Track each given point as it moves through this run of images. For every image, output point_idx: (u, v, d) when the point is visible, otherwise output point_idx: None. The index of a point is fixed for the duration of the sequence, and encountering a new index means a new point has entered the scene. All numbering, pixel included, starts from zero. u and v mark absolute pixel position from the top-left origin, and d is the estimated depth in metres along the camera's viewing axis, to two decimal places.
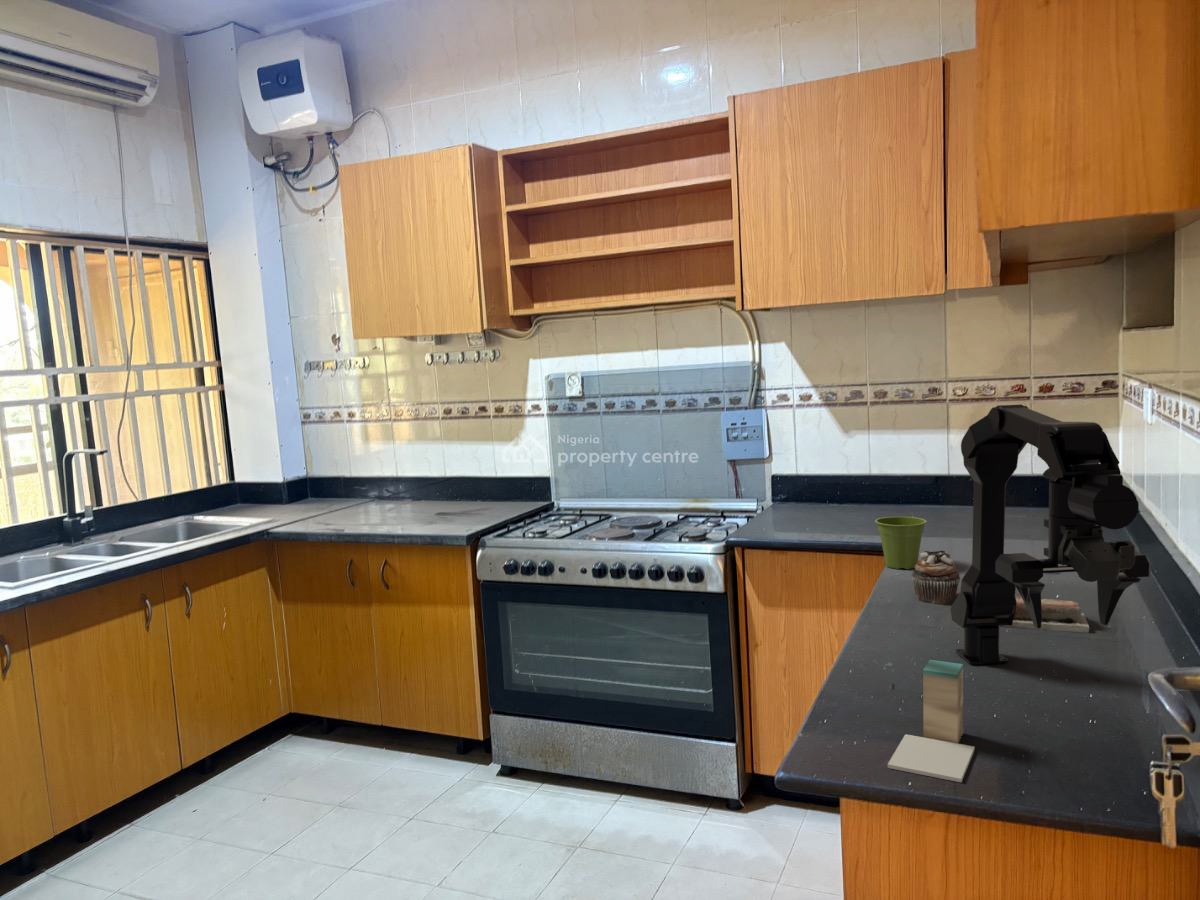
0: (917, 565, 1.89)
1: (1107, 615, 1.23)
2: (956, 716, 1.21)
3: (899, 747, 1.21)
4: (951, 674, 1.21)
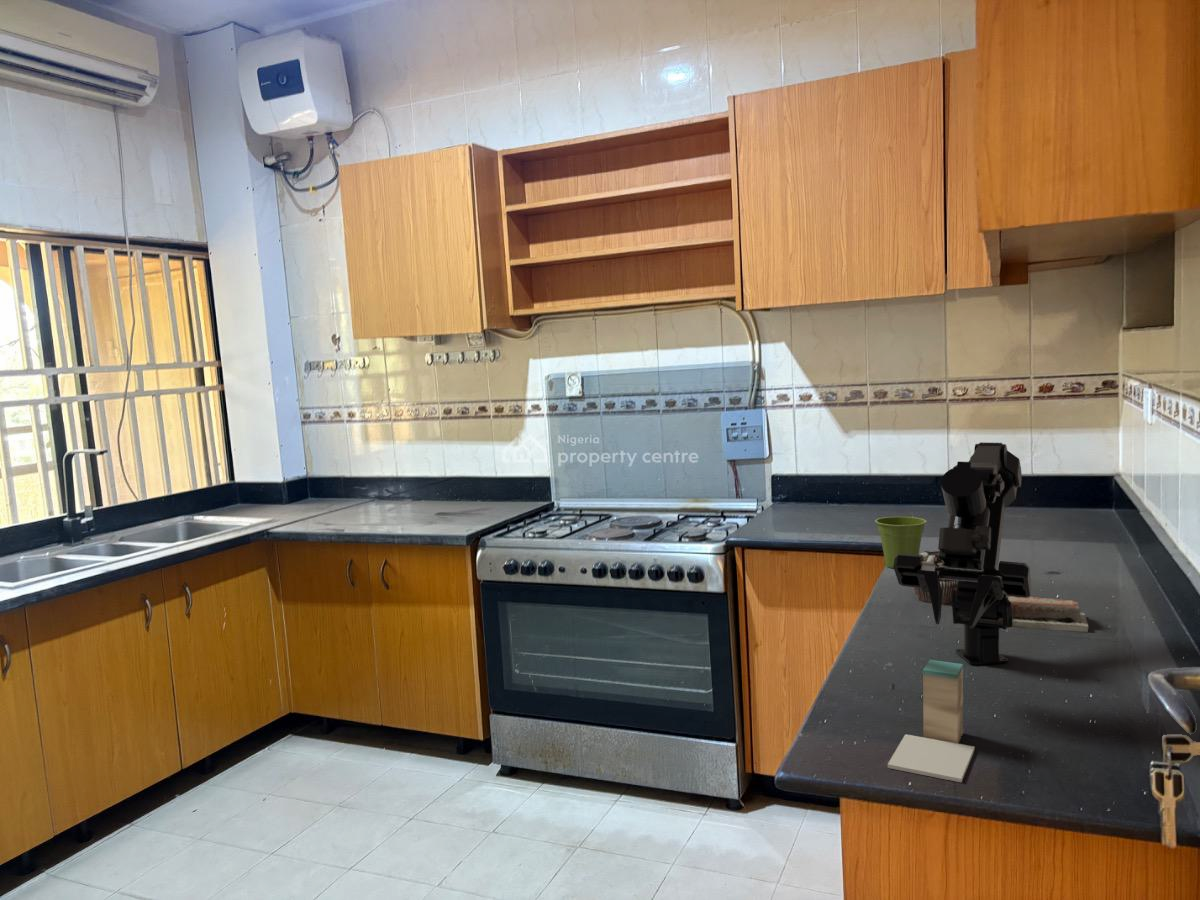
0: None
1: (971, 614, 1.29)
2: (956, 716, 1.21)
3: (899, 747, 1.21)
4: (951, 674, 1.21)
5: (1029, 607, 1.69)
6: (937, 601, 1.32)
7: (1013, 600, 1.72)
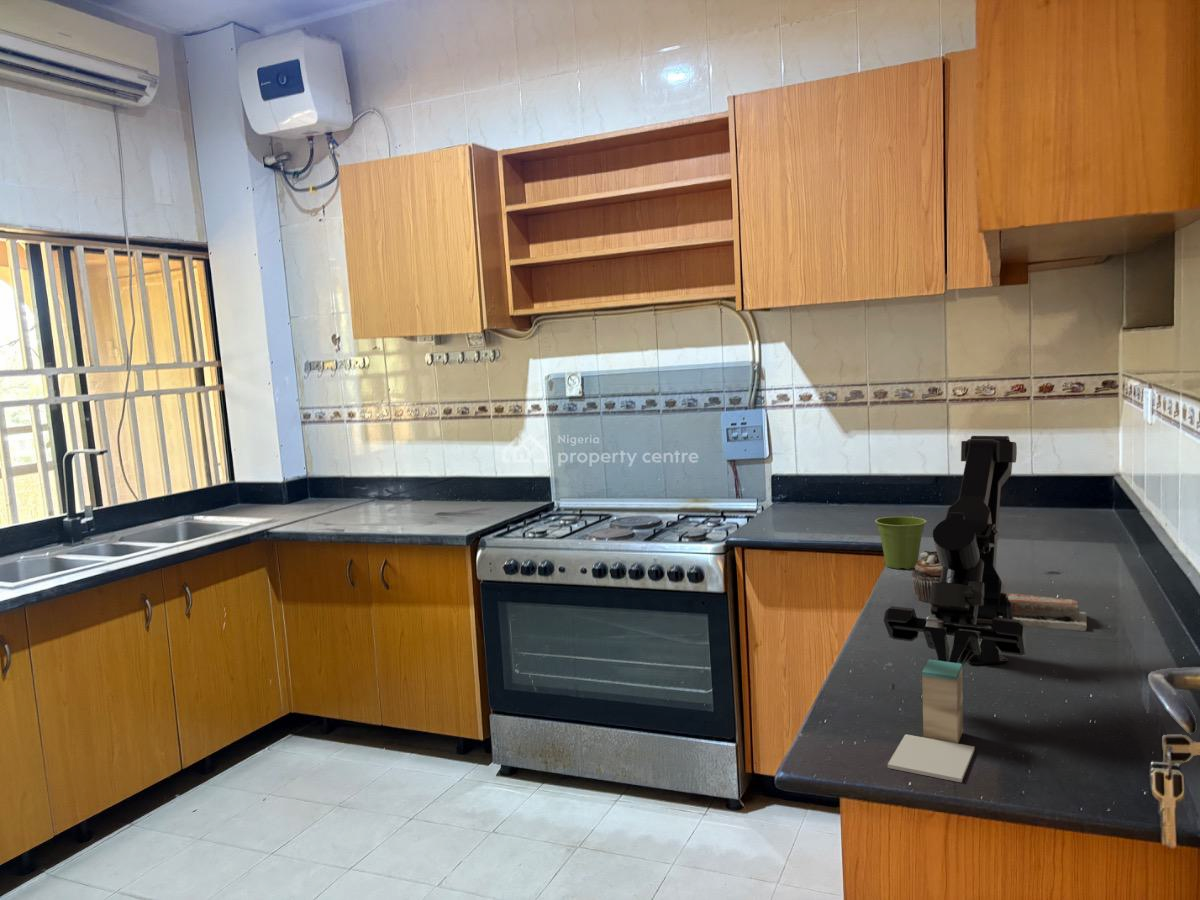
0: (917, 565, 1.89)
1: None
2: (956, 717, 1.21)
3: (899, 747, 1.21)
4: (950, 676, 1.20)
5: (1028, 605, 1.70)
6: (944, 660, 1.27)
7: (1013, 598, 1.73)
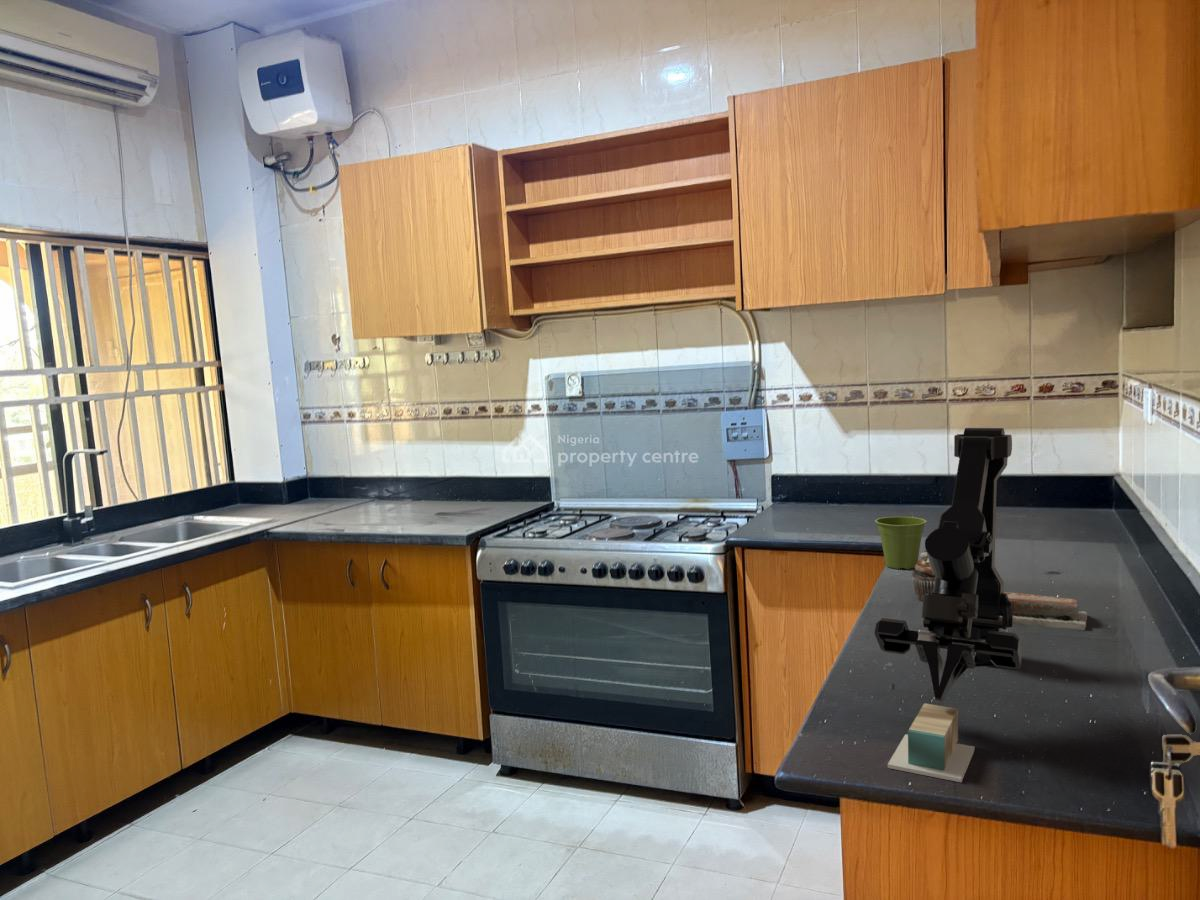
0: (917, 565, 1.89)
1: (940, 686, 1.21)
2: (951, 751, 1.19)
3: (899, 747, 1.21)
4: (938, 768, 1.14)
5: (1027, 604, 1.71)
6: (937, 675, 1.22)
7: (1013, 597, 1.74)
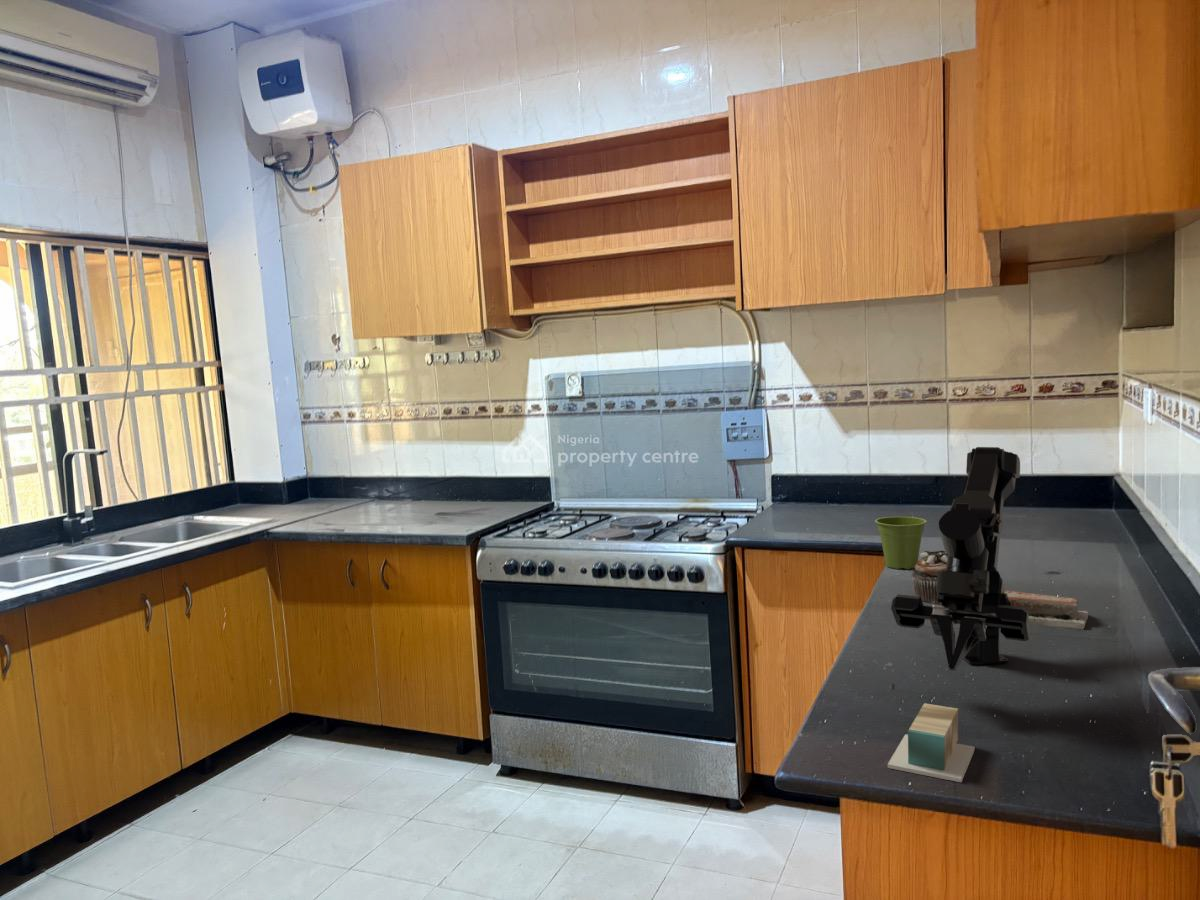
0: (917, 565, 1.89)
1: (954, 657, 1.29)
2: (951, 751, 1.19)
3: (899, 747, 1.21)
4: (938, 768, 1.14)
5: (1027, 603, 1.72)
6: (950, 646, 1.30)
7: (1013, 595, 1.75)
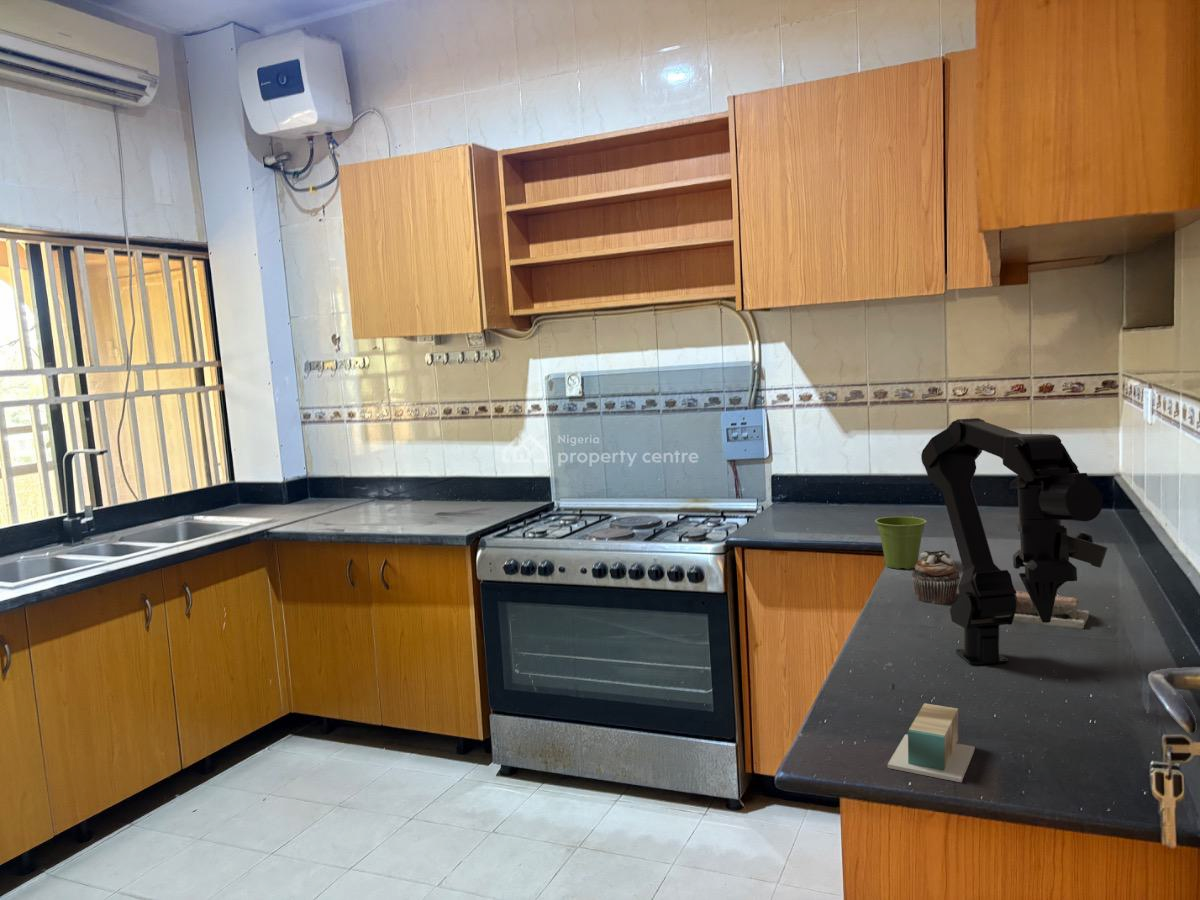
0: (917, 565, 1.89)
1: None
2: (951, 751, 1.19)
3: (899, 747, 1.21)
4: (938, 768, 1.14)
5: (1027, 602, 1.73)
6: None
7: None
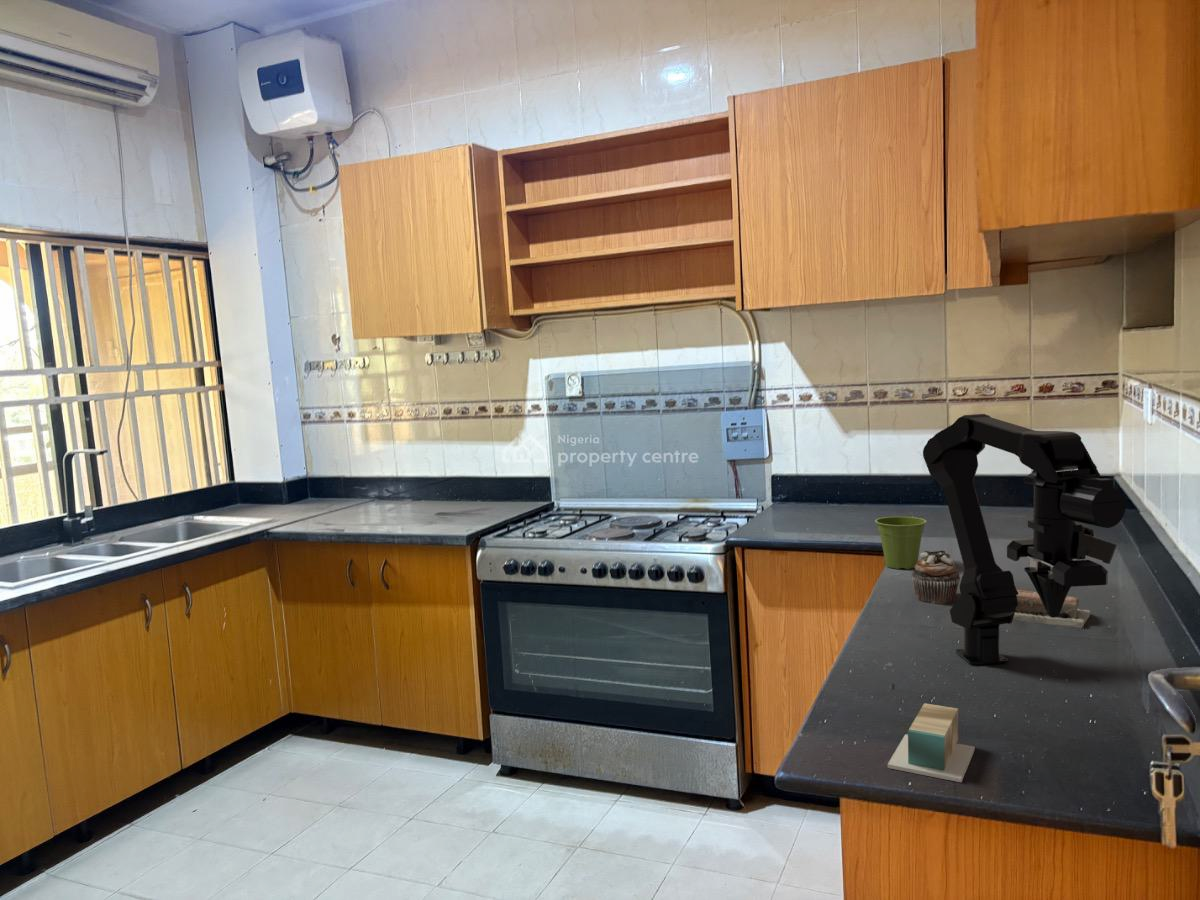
0: (917, 565, 1.89)
1: None
2: (951, 751, 1.19)
3: (899, 747, 1.21)
4: (938, 768, 1.14)
5: (1027, 601, 1.73)
6: None
7: None
